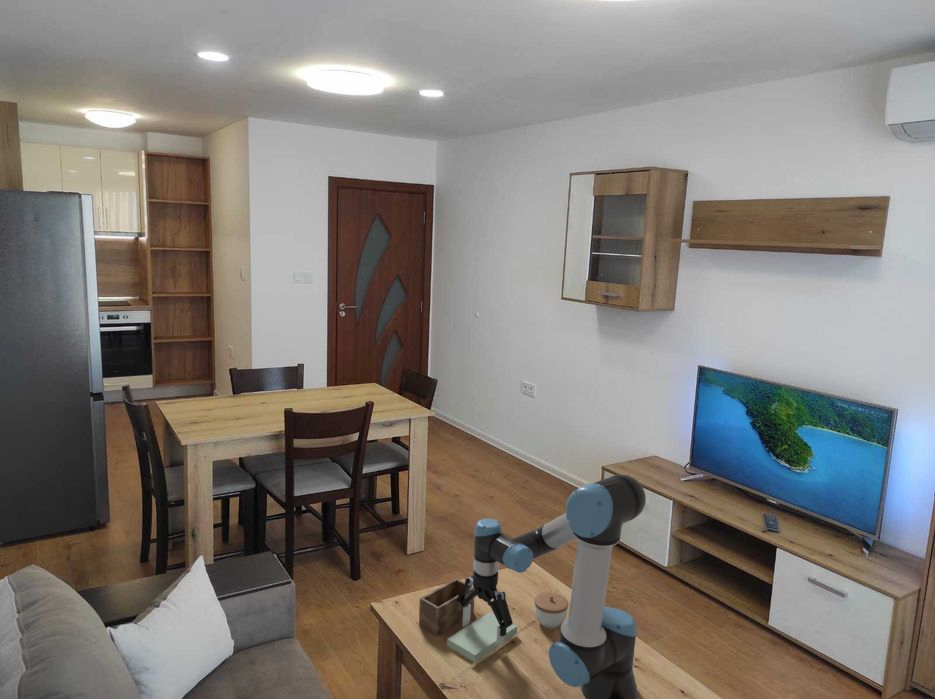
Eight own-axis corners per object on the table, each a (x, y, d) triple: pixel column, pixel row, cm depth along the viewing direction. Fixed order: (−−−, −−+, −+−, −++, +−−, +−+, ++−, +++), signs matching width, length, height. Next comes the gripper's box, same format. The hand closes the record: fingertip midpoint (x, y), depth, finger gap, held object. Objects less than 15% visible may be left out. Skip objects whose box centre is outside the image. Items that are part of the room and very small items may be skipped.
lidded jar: (565, 635, 210) (567, 608, 208) (531, 630, 212) (533, 602, 210) (567, 616, 220) (569, 590, 218) (534, 611, 222) (536, 585, 220)
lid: (489, 621, 216) (490, 611, 215) (516, 636, 208) (517, 625, 208) (446, 649, 201) (447, 638, 200) (474, 666, 194) (475, 655, 193)
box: (455, 605, 223) (456, 578, 221) (473, 615, 218) (474, 587, 216) (418, 627, 211) (419, 598, 209) (437, 638, 205) (438, 608, 204)
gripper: (526, 581, 195) (522, 646, 199) (463, 551, 211) (460, 612, 215) (511, 591, 189) (507, 658, 193) (446, 559, 205) (444, 622, 209)
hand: (482, 634), depth 204 cm, fingers open, 13 cm apart
